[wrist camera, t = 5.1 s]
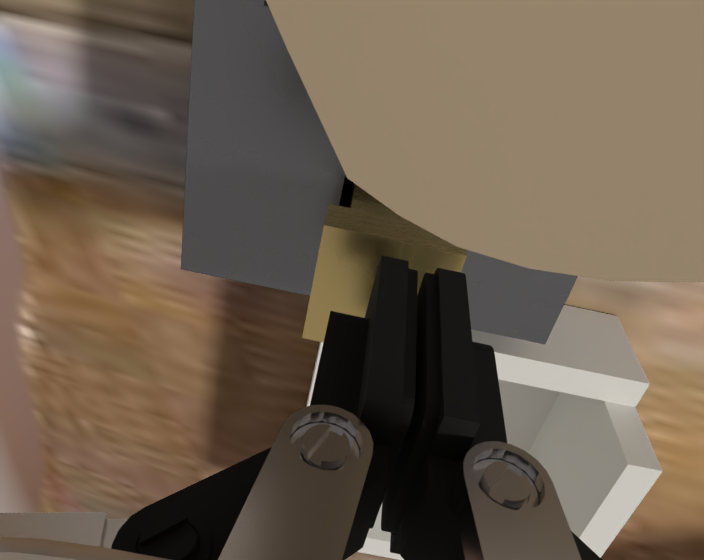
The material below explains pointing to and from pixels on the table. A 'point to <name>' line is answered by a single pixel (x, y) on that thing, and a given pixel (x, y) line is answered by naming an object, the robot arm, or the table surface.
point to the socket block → (296, 178)
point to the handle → (520, 123)
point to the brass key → (367, 257)
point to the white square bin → (571, 421)
